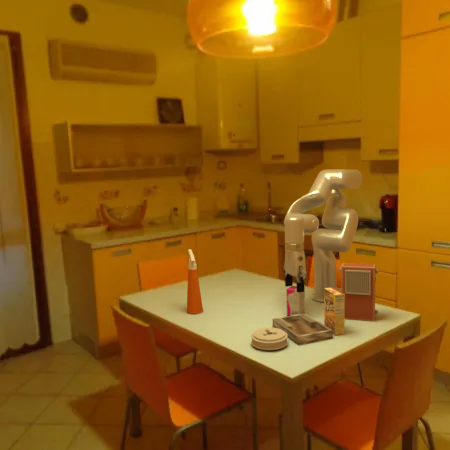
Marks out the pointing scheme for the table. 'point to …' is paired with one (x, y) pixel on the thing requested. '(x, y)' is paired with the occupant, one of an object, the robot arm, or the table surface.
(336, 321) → the candy box
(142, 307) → the table surface
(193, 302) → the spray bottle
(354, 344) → the table surface
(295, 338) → the shallow rectangular tray
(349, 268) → the red speaker
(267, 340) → the lid
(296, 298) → the supplement box
